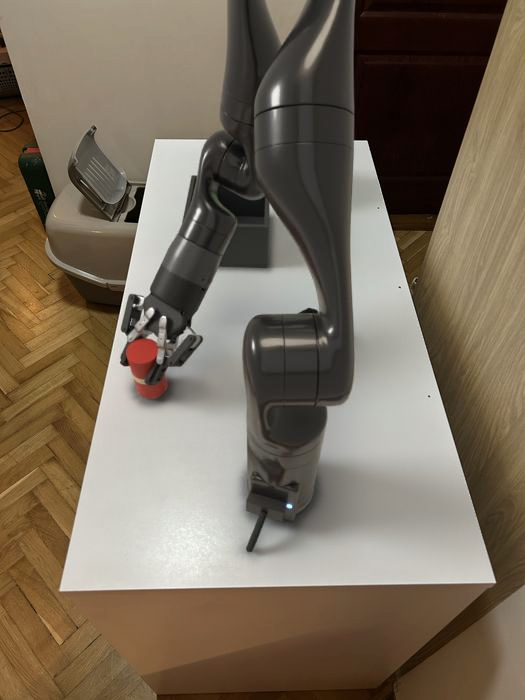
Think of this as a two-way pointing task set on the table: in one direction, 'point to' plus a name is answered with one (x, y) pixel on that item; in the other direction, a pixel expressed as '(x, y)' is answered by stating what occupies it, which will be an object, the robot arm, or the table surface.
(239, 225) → the bin
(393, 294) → the table surface
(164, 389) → the red cylinder
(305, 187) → the robot arm
